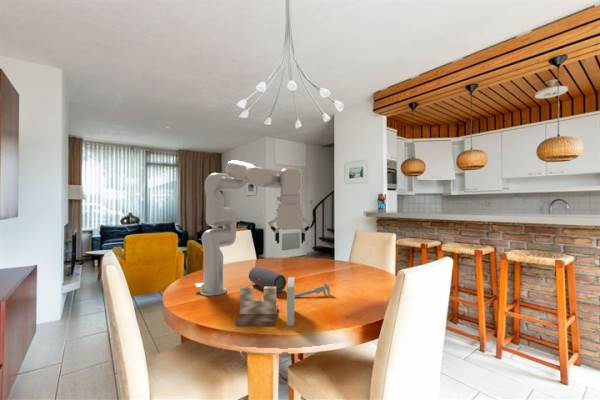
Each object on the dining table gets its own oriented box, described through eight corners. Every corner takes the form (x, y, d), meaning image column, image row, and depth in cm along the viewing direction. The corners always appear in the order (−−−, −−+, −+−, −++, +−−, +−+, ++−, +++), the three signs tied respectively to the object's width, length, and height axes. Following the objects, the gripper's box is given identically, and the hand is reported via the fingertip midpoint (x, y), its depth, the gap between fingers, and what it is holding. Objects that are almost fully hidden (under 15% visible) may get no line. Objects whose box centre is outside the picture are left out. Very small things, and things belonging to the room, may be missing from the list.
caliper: (328, 295, 138) (328, 282, 138) (329, 295, 137) (329, 282, 137) (288, 298, 133) (288, 284, 133) (288, 298, 132) (288, 285, 132)
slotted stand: (236, 325, 103) (236, 294, 103) (244, 308, 119) (244, 281, 119) (274, 325, 103) (274, 294, 103) (277, 308, 119) (277, 281, 119)
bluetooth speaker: (247, 285, 152) (247, 267, 152) (261, 282, 159) (261, 264, 159) (272, 296, 135) (272, 275, 135) (287, 292, 142) (287, 272, 142)
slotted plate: (293, 325, 103) (293, 287, 103) (287, 325, 103) (287, 287, 103) (294, 310, 117) (294, 277, 117) (288, 310, 117) (288, 277, 117)
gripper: (267, 199, 108) (267, 244, 108) (312, 199, 108) (312, 244, 107) (269, 200, 115) (269, 241, 115) (311, 199, 115) (311, 241, 115)
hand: (290, 243), depth 111 cm, fingers open, 9 cm apart
